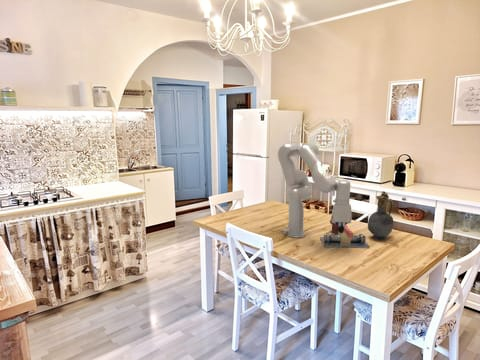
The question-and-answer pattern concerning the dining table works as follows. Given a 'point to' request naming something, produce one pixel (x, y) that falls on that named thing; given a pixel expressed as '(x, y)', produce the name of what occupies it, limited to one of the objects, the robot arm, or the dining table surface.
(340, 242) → the valve body
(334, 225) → the mechanical component
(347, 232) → the lever
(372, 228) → the pitcher
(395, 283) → the dining table surface
